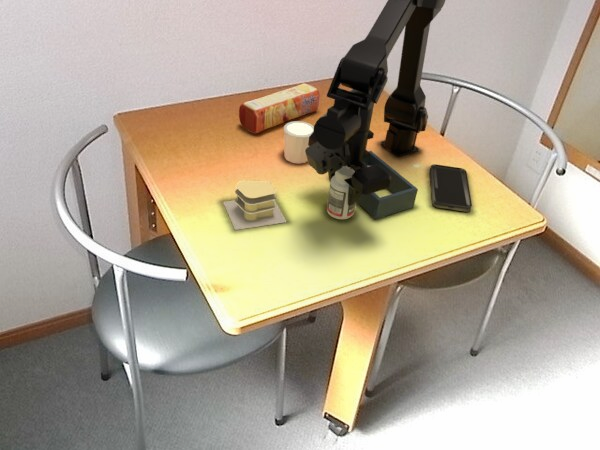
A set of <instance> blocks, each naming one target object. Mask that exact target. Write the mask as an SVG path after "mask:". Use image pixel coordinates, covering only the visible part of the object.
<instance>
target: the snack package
mask: <svg viewBox="0 0 600 450" xmlns="http://www.w3.org/2000/svg"><path fill="white" fill-rule="evenodd" d="M320 97H321V95H320V90H319V89H318V88H317V87H315V86H313V85H311V84H308V83H301V84H298V85H294V86H293V87H290V88H286V89H282V90H280V91H276V92H273V93H271V94H268V95H264V96H262V97H257V98H255V99H251V100H247V101H244V102H242V103H241V104H239V105H240V106H239V107H238V108H239V109H238V118H239V122H240V125H241V126H242V127H243V129H245V130H246V131H248V132H250V133H252V134H258V133H261V132H262V131H265V130H267V129H271V128H274V127H277V126H278V125H282V124H283V123H286V122H290V121H291V120H294V119H296V118H300V117H302V116H304V115H307V114H311V113H315V112H317V110H318V109H319V105H320Z"/></svg>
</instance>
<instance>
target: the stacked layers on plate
mask: <svg viewBox="0 0 600 450" xmlns="http://www.w3.org/2000/svg"><path fill="white" fill-rule="evenodd" d="M234 186H235V188H236V190H234V194H235V195H236V198H235V199H234V200H227V201H223V202H222V203H223V205H224V208H225V209H226V212H227V215H228V216H229V220H230V222H231V224H232V227H233V228H234V230H235V231H238V230H243V229H251V228H257V227H258V228H259V227H264V226H270V225H277V224H285V223H287V220H286V218H285V216H284V215H283V214H284V213H282V210H281V209H280V207H279V205H278V203H277V202H276V201H277V199H278V198H277V196H276V194H277V193H278V191H277V190H276V188H275V186H274V184H273V182H272V181H271V180H251V179H250V180H249V179H245V180H239V181H238V182H237V183H236V184H235V185H234Z"/></svg>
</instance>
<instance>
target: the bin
mask: <svg viewBox="0 0 600 450" xmlns="http://www.w3.org/2000/svg"><path fill="white" fill-rule="evenodd" d="M367 151H368V152H369V153H370V157H369V158H367V159H363V162H364V163H365V164H366V165H368V166H373V165H376V164H377V165H378V166H379V167H381V168H382V169H383V170H384V171H385V172H387V173H388V174H389V175H390V176H391V182H390V187H389V188H388V189H387V190H389V191H390V192H391V194H387V195H385V196H381V197H380V196H379V195H378V194H377V193H376V192H374V193H371V194H367V195H364V194H362V195H361V196H360V197H359V199H358V200H357V201H356V204H358V205H359V206H360V207H362V209H364V211H366V212H367V213H368V214H369V215H370V216H371V217H372V218H373V219H374V220H378V219H382V218H384V217H388V216H390V215H394V214H397V213H400V212H403V211H407V210H410V209H412V208H414V207H415V202H416V199H417V194H418V190H419V189H418V188H417V187H416V186H415V185H414V184H412V183H411V182H410V181H409V180H408V179H406V178H405V177H404V176H402V174H400V173H399V172H397V171H396V169H394V168H393V167H392V166H390V165H389V164H388V163H387V162H386V161H385V160H383V159H382V158H381V157H380V156H378V155H377V154H375V152H373V151H372V150H367Z"/></svg>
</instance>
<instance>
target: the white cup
mask: <svg viewBox="0 0 600 450" xmlns="http://www.w3.org/2000/svg"><path fill="white" fill-rule="evenodd" d="M313 132H314V125H313V124H311V123H309V122H306V121H301V120H299V121H298V120H295V121H288V122H287V123H285V125H284V126H283V150H284V154H283V156H284V159H285V160H286V161H288V162H289V163H293V164H298V165H299V164H300V165H301V164H305V163H308V160H307V156H306V152H305V150H306V148H308V147H309V145H308V142H309V136H310V135H311V134H312V133H313Z"/></svg>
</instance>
